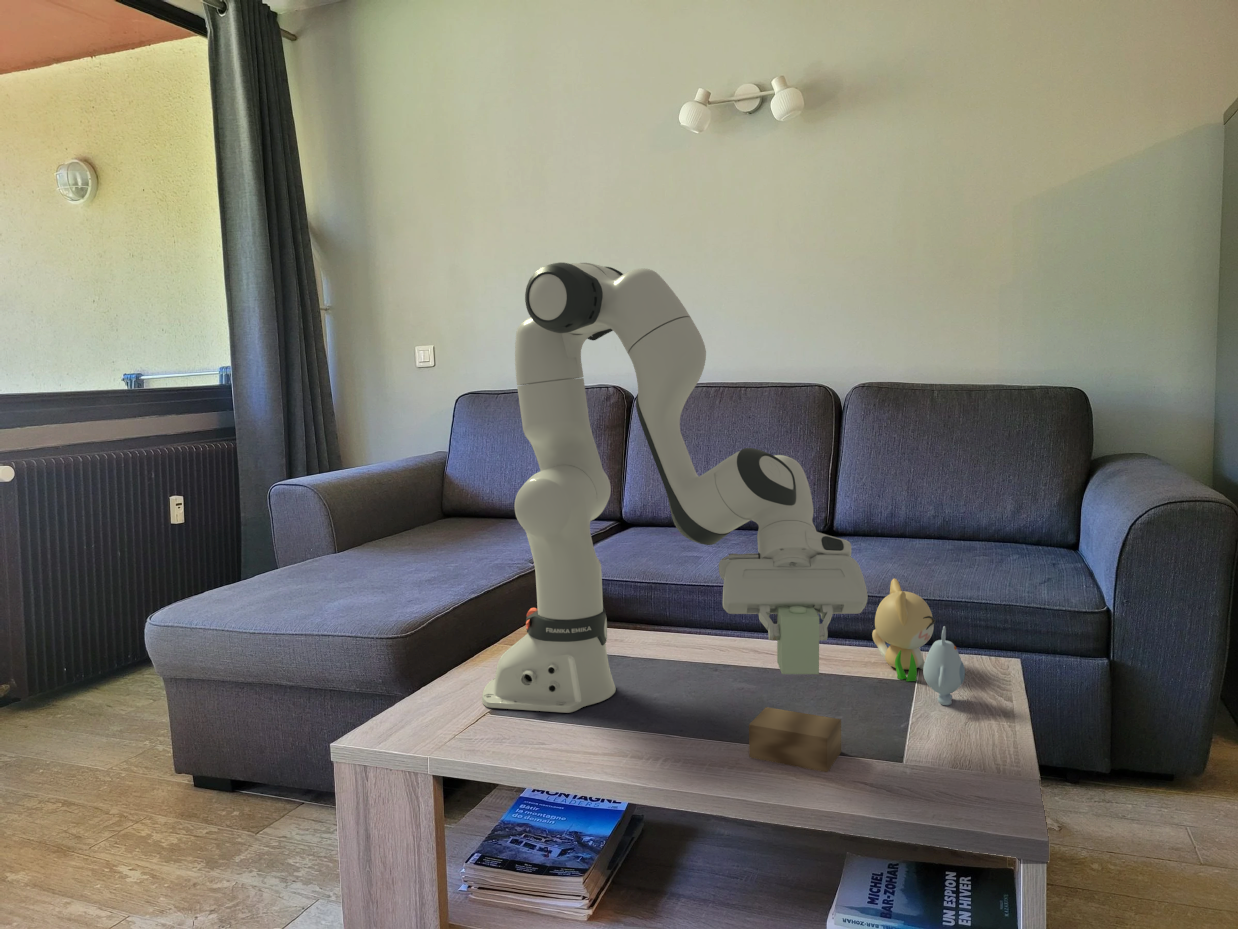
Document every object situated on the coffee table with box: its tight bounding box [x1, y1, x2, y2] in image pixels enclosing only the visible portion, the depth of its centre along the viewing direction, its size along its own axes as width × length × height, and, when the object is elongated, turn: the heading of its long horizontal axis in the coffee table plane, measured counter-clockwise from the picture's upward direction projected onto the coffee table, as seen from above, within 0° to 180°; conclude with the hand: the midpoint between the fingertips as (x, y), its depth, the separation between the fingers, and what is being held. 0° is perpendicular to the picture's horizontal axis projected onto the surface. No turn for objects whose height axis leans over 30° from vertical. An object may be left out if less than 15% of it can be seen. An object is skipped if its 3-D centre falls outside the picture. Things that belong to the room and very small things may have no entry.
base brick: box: [748, 706, 842, 773], centre depth 123 cm, size 11×7×5 cm, turn 61°
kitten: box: [871, 577, 936, 682], centre depth 156 cm, size 15×10×15 cm
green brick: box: [776, 606, 820, 675], centre depth 122 cm, size 5×5×8 cm
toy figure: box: [922, 625, 966, 706], centre depth 140 cm, size 11×6×12 cm, turn 156°
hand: (798, 638), depth 121 cm, fingers closed on green brick, 5 cm apart
